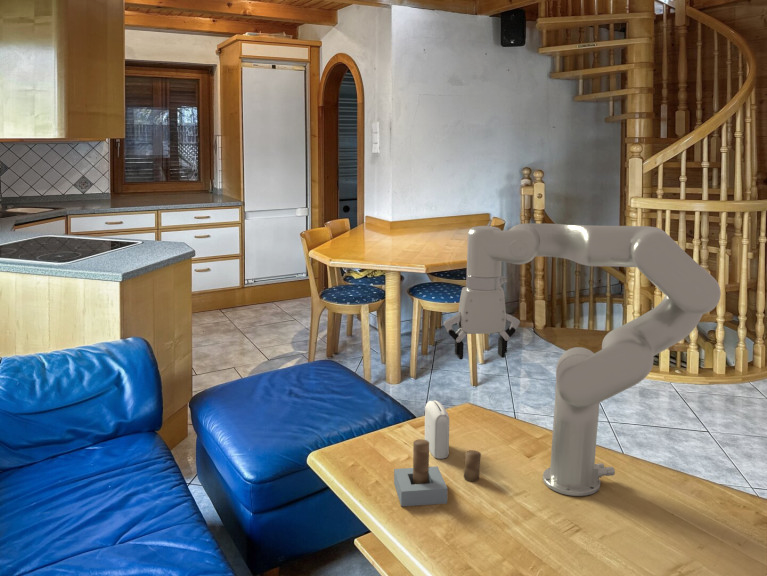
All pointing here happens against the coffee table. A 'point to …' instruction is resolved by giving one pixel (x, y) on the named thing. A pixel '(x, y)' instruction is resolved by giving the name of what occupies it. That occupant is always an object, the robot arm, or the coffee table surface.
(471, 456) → the short dowel
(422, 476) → the tall dowel
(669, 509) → the coffee table surface
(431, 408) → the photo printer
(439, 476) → the hole block
